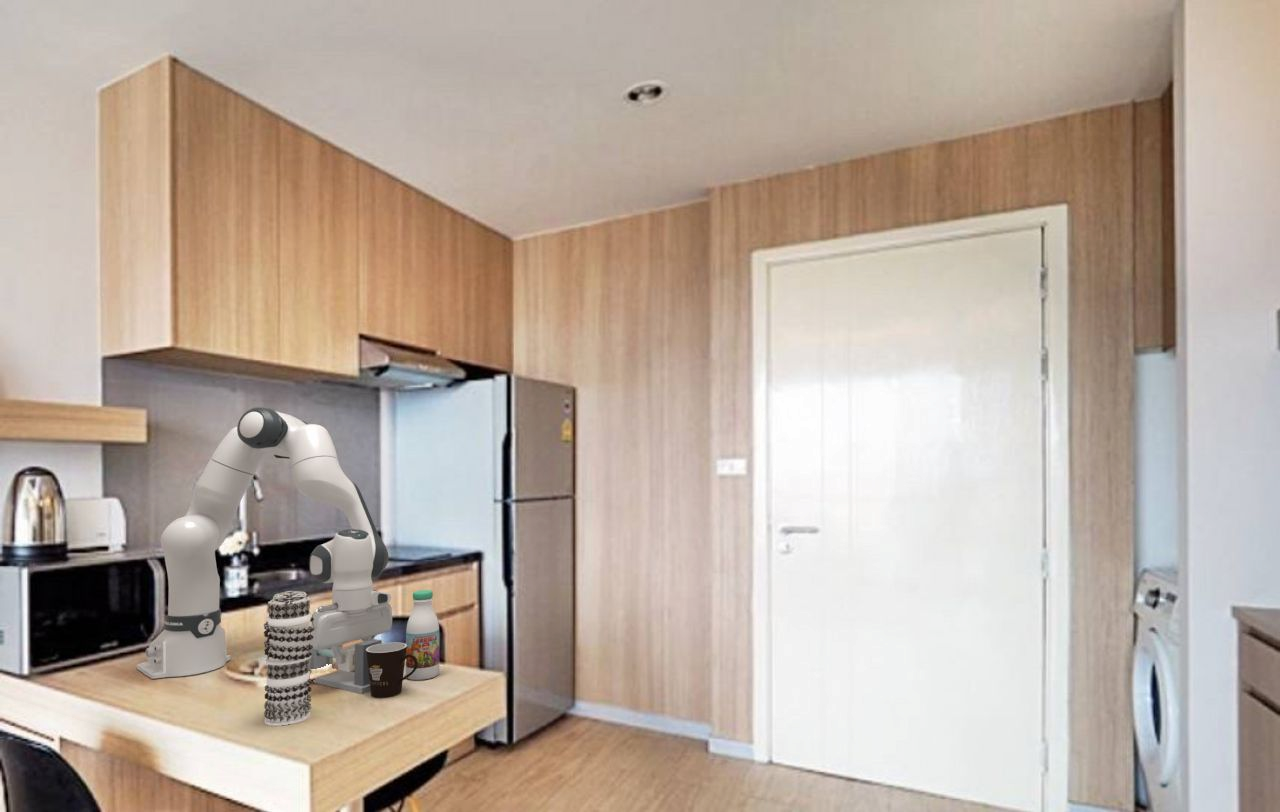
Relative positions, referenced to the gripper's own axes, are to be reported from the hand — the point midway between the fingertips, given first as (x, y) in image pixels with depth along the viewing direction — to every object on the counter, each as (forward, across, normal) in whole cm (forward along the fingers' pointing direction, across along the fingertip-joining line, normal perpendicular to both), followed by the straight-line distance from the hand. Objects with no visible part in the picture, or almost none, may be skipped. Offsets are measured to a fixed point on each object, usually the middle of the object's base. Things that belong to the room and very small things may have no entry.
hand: (352, 660), depth 164 cm
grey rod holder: (+5, 0, +3) cm, 6 cm away
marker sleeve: (+2, 0, 0) cm, 2 cm away
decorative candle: (+6, -20, -7) cm, 22 cm away
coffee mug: (+6, -1, -14) cm, 15 cm away
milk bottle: (+6, +12, -10) cm, 17 cm away
